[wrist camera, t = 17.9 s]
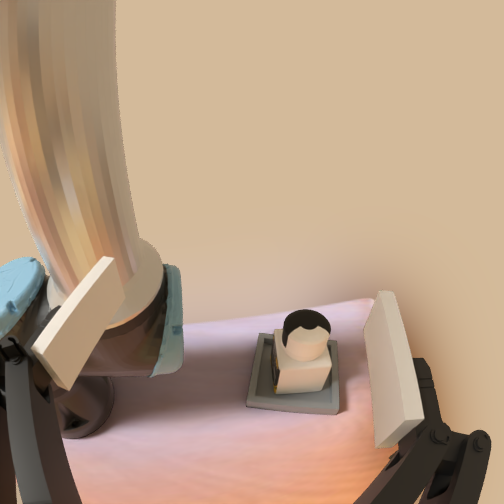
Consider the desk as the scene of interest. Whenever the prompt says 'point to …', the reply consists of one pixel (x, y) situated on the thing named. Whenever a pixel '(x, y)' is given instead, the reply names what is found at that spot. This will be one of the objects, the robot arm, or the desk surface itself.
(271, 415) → the desk surface
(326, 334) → the medicine bottle
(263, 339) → the bottle tray
